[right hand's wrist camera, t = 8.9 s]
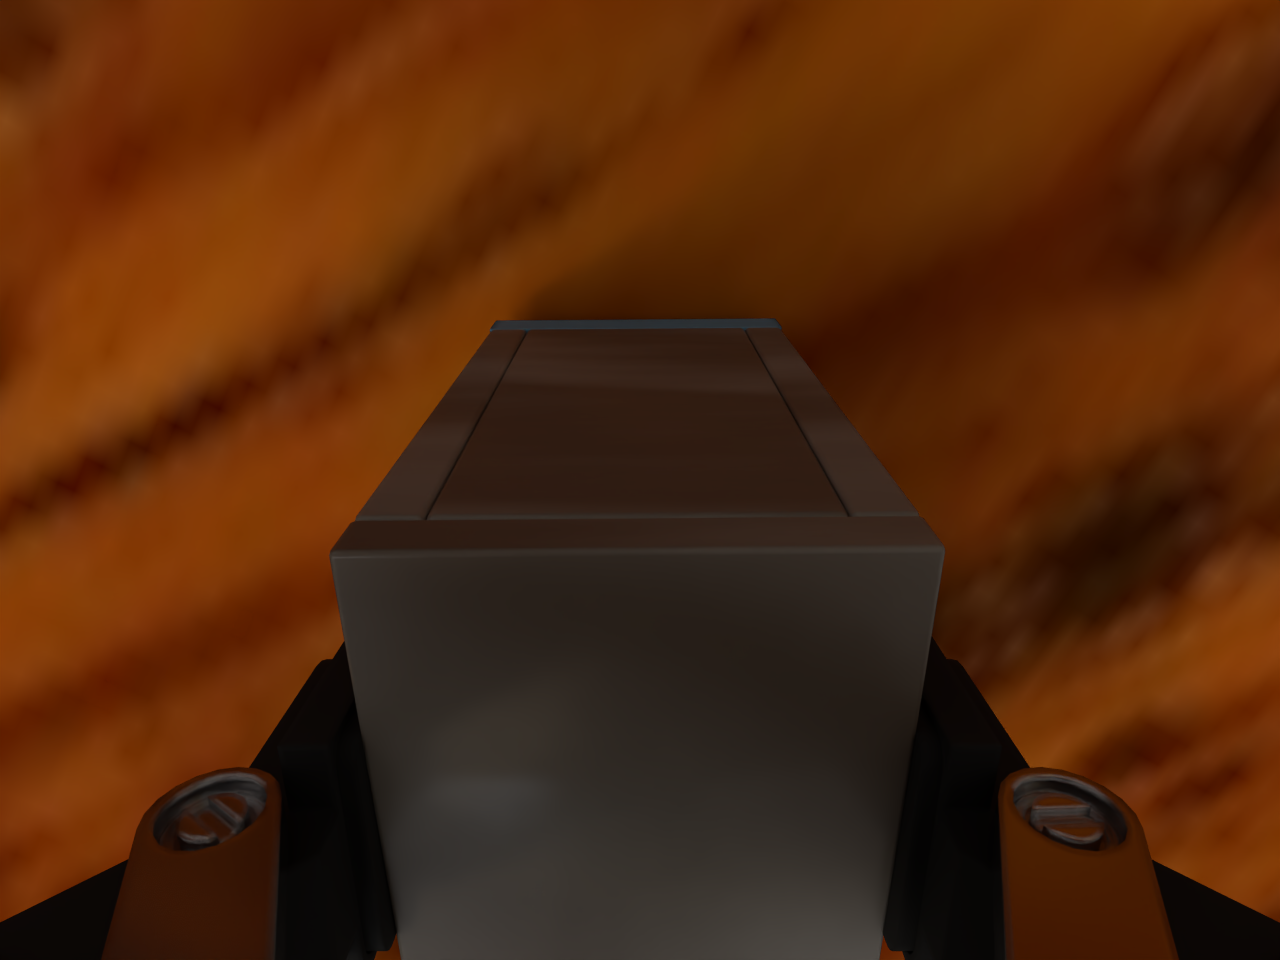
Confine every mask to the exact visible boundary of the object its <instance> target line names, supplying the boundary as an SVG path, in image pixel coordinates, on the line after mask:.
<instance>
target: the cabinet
mask: <svg viewBox="0 0 1280 960" xmlns="http://www.w3.org/2000/svg"><path fill="white" fill-rule="evenodd" d="M944 554H945V548H944V545H943V544H942V542H941V541H940V540H939V538H938V537H937V536H936V535H935V533H934V532H933V531H932V529H931V528H930V527H929V525H928V524H927V523H926V521H925V520H924V519H923V518H921V517H919V514H918V511H917V510H916V509H915V507H914V506H913V505H912V504H911V502H910V501H909V500H908V498H907V497H906V496H905V494H904V493H903V492H902V490H901V489H900V488H899V486H898V485H897V484H896V482H895V481H894V480H893V478H892V477H891V476H890V474H889V473H888V472H887V470H886V469H885V468H884V466H883V465H882V464H881V462H880V461H879V460H878V458H877V457H876V456H875V454H874V453H873V452H872V450H871V449H870V448H869V446H868V445H867V444H866V442H865V441H864V440H863V438H862V437H861V436H860V434H859V433H858V432H857V430H856V429H855V428H854V426H853V425H852V424H851V422H850V421H849V420H848V418H847V417H846V416H845V414H844V413H843V412H842V410H841V409H840V408H839V406H838V405H837V404H836V403H835V401H834V400H833V399H832V397H831V396H830V395H829V393H828V392H827V391H826V389H825V388H824V387H823V385H822V384H821V383H820V381H819V380H818V379H817V377H816V376H815V375H814V373H813V372H812V371H811V369H810V368H809V367H808V365H807V364H806V363H805V361H804V360H803V359H802V357H801V356H800V355H799V353H798V352H797V351H796V349H795V348H794V347H793V345H792V344H791V343H790V341H789V340H788V339H787V337H786V336H785V335H784V333H783V332H782V331H781V326H780V325H779V323H778V322H777V321H776V319H646V320H511V321H496V322H495V323H494V325H493V326H492V327H491V329H490V334H489V335H488V336H487V338H486V339H485V341H484V342H483V343H482V345H481V346H480V347H479V349H478V350H477V352H476V353H475V354H474V356H473V357H472V358H471V360H470V361H469V363H468V364H467V365H466V367H465V368H464V369H463V371H462V372H461V374H460V375H459V376H458V378H457V379H456V380H455V382H454V383H453V385H452V386H451V387H450V389H449V390H448V391H447V393H446V394H445V396H444V397H443V398H442V400H441V401H440V402H439V404H438V405H437V407H436V408H435V409H434V411H433V412H432V413H431V415H430V416H429V418H428V419H427V420H426V422H425V423H424V424H423V426H422V427H421V428H420V430H419V431H418V433H417V434H416V435H415V437H414V438H413V439H412V441H411V442H410V444H409V445H408V446H407V448H406V449H405V450H404V452H403V453H402V455H401V456H400V457H399V459H398V460H397V461H396V463H395V464H394V466H393V467H392V468H391V470H390V471H389V472H388V474H387V475H386V477H385V478H384V479H383V481H382V482H381V483H380V485H379V486H378V488H377V489H376V490H375V492H374V493H373V494H372V496H371V497H370V499H369V500H368V501H367V503H366V504H365V505H364V507H363V508H362V510H361V511H360V512H359V514H358V515H357V516H356V519H355V521H354V522H352V523H350V525H349V526H348V528H347V529H346V530H345V532H344V533H343V534H342V536H341V537H340V539H339V540H338V541H337V543H336V544H335V545H334V547H333V548H332V549H331V551H330V555H329V556H330V562H331V568H332V573H333V579H334V584H335V590H336V596H337V601H338V607H339V613H340V618H341V624H342V629H343V635H344V641H345V646H346V652H347V657H348V663H349V669H350V674H351V680H352V686H353V691H354V697H355V702H356V708H357V714H358V719H359V725H360V730H361V736H362V742H363V747H364V753H365V759H366V764H367V770H368V775H369V781H370V787H371V792H372V798H373V803H374V809H375V815H376V820H377V826H378V832H379V837H380V843H381V848H382V854H383V860H384V865H385V871H386V876H387V882H388V888H389V893H390V899H391V905H392V910H393V916H394V921H395V927H396V933H397V938H398V944H399V949H400V955H401V960H879V958H880V952H881V946H882V940H883V929H884V923H885V917H886V911H887V905H888V899H889V893H890V888H891V882H892V876H893V870H894V864H895V858H896V852H897V846H898V840H899V834H900V828H901V822H902V815H903V809H904V803H905V797H906V790H907V784H908V778H909V772H910V766H911V759H912V753H913V747H914V741H915V735H916V728H917V722H918V716H919V710H920V703H921V697H922V691H923V685H924V679H925V672H926V666H927V660H928V654H929V648H930V641H931V635H932V629H933V623H934V617H935V610H936V604H937V598H938V592H939V585H940V579H941V573H942V567H943V561H944Z"/></svg>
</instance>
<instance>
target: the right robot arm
mask: <svg viewBox="0 0 1280 960" xmlns="http://www.w3.org/2000/svg"><path fill="white" fill-rule="evenodd" d="M395 935H396V927H395V921H394V916H393V910H392V905H391V899H390V893H389V888H388V882H387V876H386V871H385V865H384V860H383V854H382V848H381V843H380V837H379V832H378V826H377V820H376V815H375V809H374V803H373V798H372V792H371V787H370V781H369V775H368V770H367V764H366V759H365V753H364V747H363V742H362V736H361V730H360V725H359V719H358V714H357V708H356V702H355V697H354V691H353V686H352V680H351V674H350V669H349V663H348V657H347V652H346V646H345V641H344V642H343V644H342V645H341V647H340V648H339V650H338V652H337V653H336V655H335V656H334V658H333V659H326V660H323V661H321V662H320V663H319V664H318V665H317V666H316V668H315V669H314V671H313V672H312V674H311V675H310V677H309V678H308V680H307V681H306V683H305V684H304V686H303V687H302V689H301V690H300V692H299V693H298V695H297V696H296V698H295V699H294V701H293V702H292V704H291V705H290V707H289V708H288V710H287V711H286V713H285V714H284V716H283V717H282V719H281V720H280V722H279V723H278V725H277V726H276V728H275V729H274V731H273V732H272V734H271V735H270V737H269V738H268V740H267V741H266V743H265V745H264V746H263V748H262V749H261V751H260V752H259V754H258V755H257V757H256V758H255V760H254V761H253V763H252V764H251V766H250V767H249V768H244V767H235V768H228V769H220V770H216V771H212V772H209V773H206V774H202V775H199V776H196V777H194V778H192V779H190V780H188V781H186V782H184V783H182V784H180V785H178V786H176V787H174V788H173V789H171V790H170V791H169V792H167V793H166V794H164V795H163V796H162V797H160V798H159V799H158V800H157V801H156V802H155V803H154V804H153V805H152V806H151V807H150V808H149V809H148V810H147V811H146V812H145V814H144V815H143V817H142V819H141V821H140V823H139V825H138V827H137V830H136V834H135V837H134V841H133V845H132V848H131V852H130V856H129V859H128V860H126V861H124V862H122V863H120V864H118V865H116V866H114V867H112V868H110V869H108V870H105V871H103V872H101V873H99V874H97V875H95V876H93V877H91V878H89V879H87V880H85V881H83V882H81V883H79V884H77V885H75V886H73V887H71V888H69V889H67V890H65V891H63V892H61V893H59V894H57V895H55V896H53V897H51V898H49V899H47V900H45V901H43V902H41V903H39V904H37V905H35V906H33V907H31V908H29V909H27V910H25V911H23V912H21V913H19V914H17V915H15V916H13V917H11V918H9V919H6V920H4V921H2V922H0V960H374V958H375V955H376V952H377V951H388V950H389V949H390V948H391V946H392V944H393V941H394V938H395ZM883 935H884V938H885V941H886V943H887V946H888V948H889V949H890V950H891V951H902V952H903V955H904V958H905V960H1280V923H1279V922H1277V921H1275V920H1273V919H1271V918H1269V917H1267V916H1265V915H1263V914H1261V913H1259V912H1257V911H1255V910H1253V909H1251V908H1249V907H1247V906H1245V905H1243V904H1241V903H1239V902H1237V901H1235V900H1233V899H1230V898H1228V897H1226V896H1224V895H1222V894H1220V893H1218V892H1216V891H1214V890H1212V889H1210V888H1208V887H1206V886H1204V885H1202V884H1200V883H1198V882H1196V881H1194V880H1192V879H1190V878H1188V877H1186V876H1184V875H1182V874H1180V873H1178V872H1176V871H1174V870H1172V869H1170V868H1168V867H1166V866H1164V865H1162V864H1160V863H1158V862H1156V861H1154V860H1152V859H1151V856H1150V852H1149V848H1148V845H1147V841H1146V837H1145V834H1144V830H1143V827H1142V825H1141V823H1140V821H1139V819H1138V817H1137V815H1136V814H1135V812H1134V811H1133V810H1132V809H1131V808H1130V807H1129V806H1128V805H1127V804H1126V803H1125V802H1124V801H1123V800H1122V799H1121V798H1120V797H1118V796H1117V795H1116V794H1114V793H1113V792H1111V791H1110V790H1109V789H1107V788H1106V787H1104V786H1102V785H1100V784H1098V783H1096V782H1094V781H1092V780H1090V779H1088V778H1086V777H1084V776H1081V775H1078V774H1074V773H1071V772H1068V771H1064V770H1060V769H1052V768H1045V767H1036V768H1030V767H1029V765H1028V764H1027V762H1026V761H1025V759H1024V758H1023V756H1022V755H1021V753H1020V752H1019V750H1018V749H1017V747H1016V746H1015V744H1014V743H1013V741H1012V740H1011V738H1010V737H1009V735H1008V734H1007V732H1006V731H1005V729H1004V728H1003V726H1002V725H1001V723H1000V722H999V720H998V719H997V717H996V716H995V714H994V713H993V711H992V710H991V708H990V707H989V705H988V704H987V702H986V701H985V699H984V698H983V696H982V695H981V693H980V692H979V690H978V689H977V687H976V686H975V684H974V683H973V681H972V680H971V678H970V677H969V675H968V674H967V672H966V671H965V669H964V668H963V666H962V665H961V664H960V663H959V662H958V661H957V660H953V659H946V658H945V656H944V655H943V653H942V651H941V650H940V648H939V647H938V645H937V644H936V642H935V641H934V639H933V637H932V636H931V641H930V648H929V654H928V660H927V666H926V672H925V679H924V685H923V691H922V697H921V703H920V710H919V716H918V722H917V728H916V735H915V741H914V747H913V753H912V759H911V766H910V772H909V778H908V784H907V790H906V797H905V803H904V809H903V815H902V822H901V828H900V834H899V840H898V846H897V852H896V858H895V864H894V870H893V876H892V882H891V888H890V893H889V899H888V905H887V911H886V917H885V923H884V929H883Z"/></svg>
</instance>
